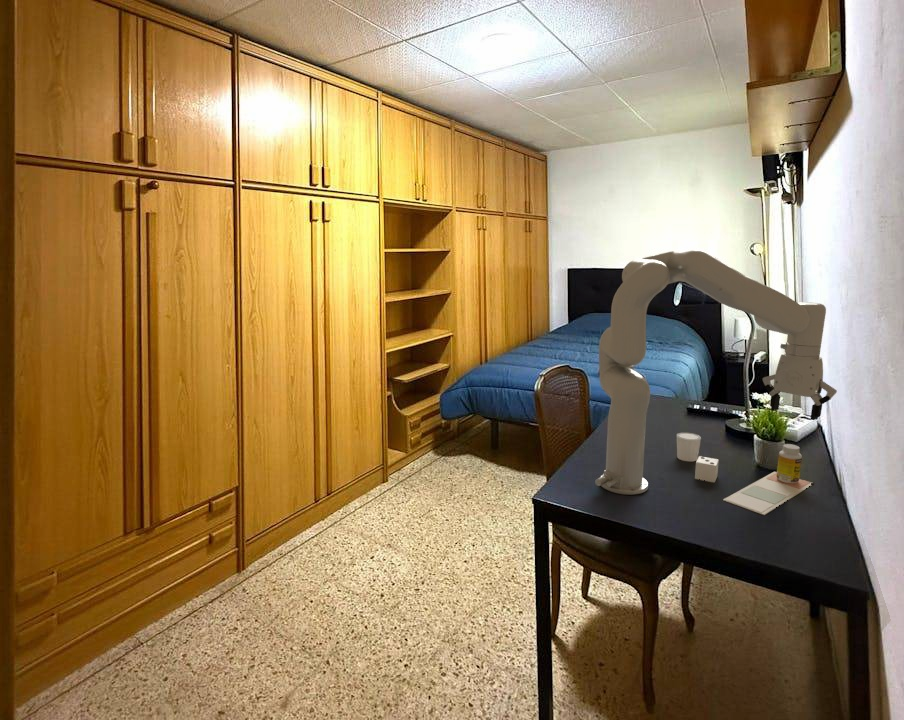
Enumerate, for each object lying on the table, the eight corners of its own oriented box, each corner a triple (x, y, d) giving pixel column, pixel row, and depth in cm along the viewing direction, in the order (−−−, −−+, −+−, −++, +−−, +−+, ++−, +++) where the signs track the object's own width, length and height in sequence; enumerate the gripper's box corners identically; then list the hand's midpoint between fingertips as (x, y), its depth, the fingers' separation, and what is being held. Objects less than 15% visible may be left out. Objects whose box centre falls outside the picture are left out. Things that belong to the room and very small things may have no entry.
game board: (764, 515, 130) (764, 514, 130) (722, 500, 138) (723, 499, 138) (813, 483, 147) (813, 482, 147) (774, 472, 155) (774, 471, 155)
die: (714, 482, 149) (716, 465, 148) (694, 478, 151) (696, 461, 150) (717, 476, 153) (718, 459, 152) (697, 472, 155) (699, 455, 154)
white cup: (702, 462, 162) (703, 440, 161) (677, 461, 163) (678, 439, 162) (696, 454, 169) (698, 432, 167) (672, 453, 170) (674, 431, 168)
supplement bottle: (794, 486, 145) (798, 451, 143) (772, 480, 149) (776, 446, 147) (801, 480, 148) (806, 446, 146) (780, 474, 152) (784, 441, 150)
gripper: (760, 347, 146) (753, 409, 149) (835, 357, 132) (825, 425, 136) (773, 344, 150) (766, 404, 154) (847, 354, 137) (837, 420, 140)
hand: (793, 414), depth 145 cm, fingers open, 9 cm apart
